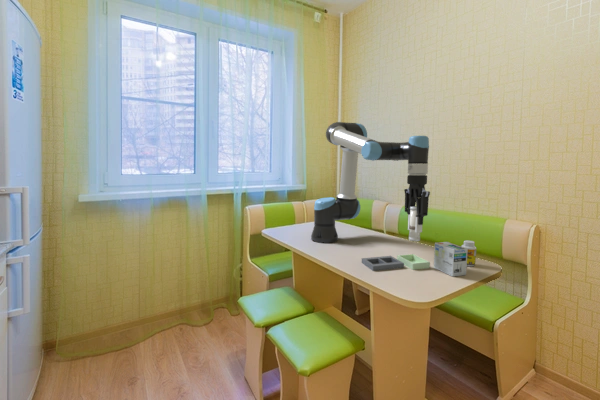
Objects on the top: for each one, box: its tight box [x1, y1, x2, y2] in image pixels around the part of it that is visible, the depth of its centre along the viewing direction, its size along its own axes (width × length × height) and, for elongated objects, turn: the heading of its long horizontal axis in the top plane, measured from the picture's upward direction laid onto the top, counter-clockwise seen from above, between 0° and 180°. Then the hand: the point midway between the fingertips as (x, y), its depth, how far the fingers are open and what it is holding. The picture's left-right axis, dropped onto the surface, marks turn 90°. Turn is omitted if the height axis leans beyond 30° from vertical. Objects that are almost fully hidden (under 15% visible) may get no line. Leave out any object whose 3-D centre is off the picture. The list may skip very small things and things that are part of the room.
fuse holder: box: [361, 255, 405, 272], centre depth 124 cm, size 10×14×2 cm
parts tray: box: [396, 253, 431, 271], centre depth 125 cm, size 11×8×3 cm
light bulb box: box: [433, 241, 468, 277], centre depth 118 cm, size 11×7×11 cm, turn 17°
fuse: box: [408, 205, 421, 242], centre depth 123 cm, size 4×4×14 cm
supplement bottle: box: [461, 239, 477, 267], centre depth 125 cm, size 6×6×10 cm
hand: (414, 230), depth 123 cm, fingers closed on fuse, 4 cm apart
